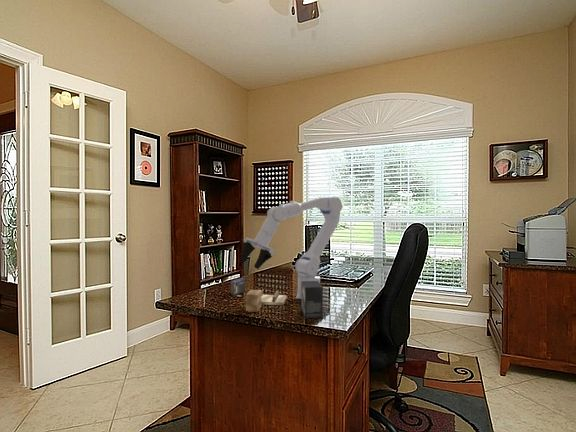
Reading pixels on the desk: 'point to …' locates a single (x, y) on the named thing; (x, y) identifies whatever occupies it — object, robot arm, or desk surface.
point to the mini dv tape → (237, 286)
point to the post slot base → (273, 299)
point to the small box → (312, 299)
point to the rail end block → (253, 300)
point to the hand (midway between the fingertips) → (249, 264)
